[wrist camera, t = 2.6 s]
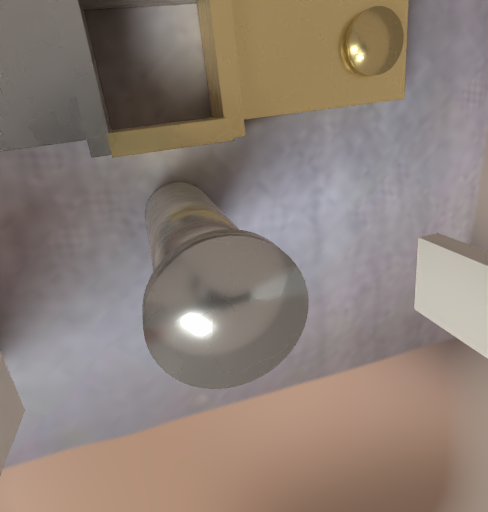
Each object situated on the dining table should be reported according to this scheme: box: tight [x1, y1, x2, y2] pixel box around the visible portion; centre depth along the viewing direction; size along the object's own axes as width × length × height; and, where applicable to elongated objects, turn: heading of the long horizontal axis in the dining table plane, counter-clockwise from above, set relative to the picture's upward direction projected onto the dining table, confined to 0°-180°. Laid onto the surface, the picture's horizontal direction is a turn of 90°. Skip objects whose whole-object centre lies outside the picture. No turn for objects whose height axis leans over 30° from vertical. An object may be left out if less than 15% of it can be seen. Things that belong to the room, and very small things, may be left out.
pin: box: [142, 182, 308, 389], centre depth 17 cm, size 5×5×13 cm
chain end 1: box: [0, 0, 198, 157], centre depth 17 cm, size 8×16×4 cm, turn 96°
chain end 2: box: [107, 0, 409, 158], centre depth 19 cm, size 8×16×4 cm, turn 96°
